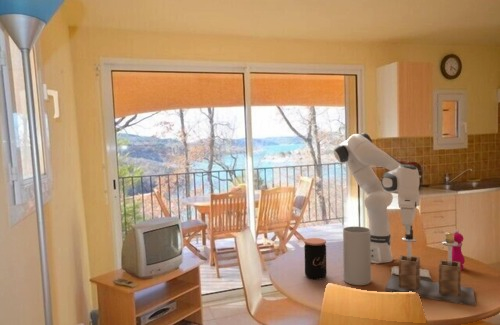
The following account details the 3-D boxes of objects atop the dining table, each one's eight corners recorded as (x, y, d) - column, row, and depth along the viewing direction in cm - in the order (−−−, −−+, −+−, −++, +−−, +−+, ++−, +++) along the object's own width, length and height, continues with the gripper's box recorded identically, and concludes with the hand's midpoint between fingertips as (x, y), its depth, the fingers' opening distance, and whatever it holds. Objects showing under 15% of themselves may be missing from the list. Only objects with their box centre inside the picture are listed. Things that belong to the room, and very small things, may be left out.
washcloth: (391, 270, 190) (391, 264, 190) (429, 274, 184) (429, 268, 183) (391, 278, 179) (391, 272, 179) (431, 282, 173) (431, 276, 172)
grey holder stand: (385, 291, 163) (385, 261, 162) (390, 279, 177) (390, 251, 176) (475, 305, 147) (475, 272, 146) (473, 291, 161) (473, 260, 160)
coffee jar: (313, 281, 177) (313, 244, 176) (300, 274, 186) (300, 239, 185) (331, 277, 182) (330, 241, 181) (317, 270, 191) (317, 236, 190)
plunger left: (401, 264, 164) (401, 230, 163) (402, 260, 169) (402, 227, 168) (416, 266, 161) (415, 231, 160) (417, 262, 166) (417, 228, 166)
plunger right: (441, 269, 156) (441, 234, 156) (441, 265, 162) (442, 230, 161) (457, 271, 153) (457, 235, 153) (457, 267, 159) (457, 232, 158)
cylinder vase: (367, 287, 168) (366, 234, 166) (340, 283, 174) (339, 231, 173) (373, 278, 178) (373, 228, 177) (348, 274, 185) (347, 225, 183)
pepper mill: (466, 271, 185) (467, 231, 184) (451, 270, 186) (451, 231, 185) (461, 266, 192) (461, 228, 191) (446, 265, 193) (446, 228, 192)
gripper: (403, 197, 174) (404, 226, 175) (398, 204, 156) (398, 236, 157) (418, 197, 171) (418, 227, 172) (414, 205, 153) (414, 237, 154)
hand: (409, 231), depth 164 cm, fingers open, 8 cm apart
